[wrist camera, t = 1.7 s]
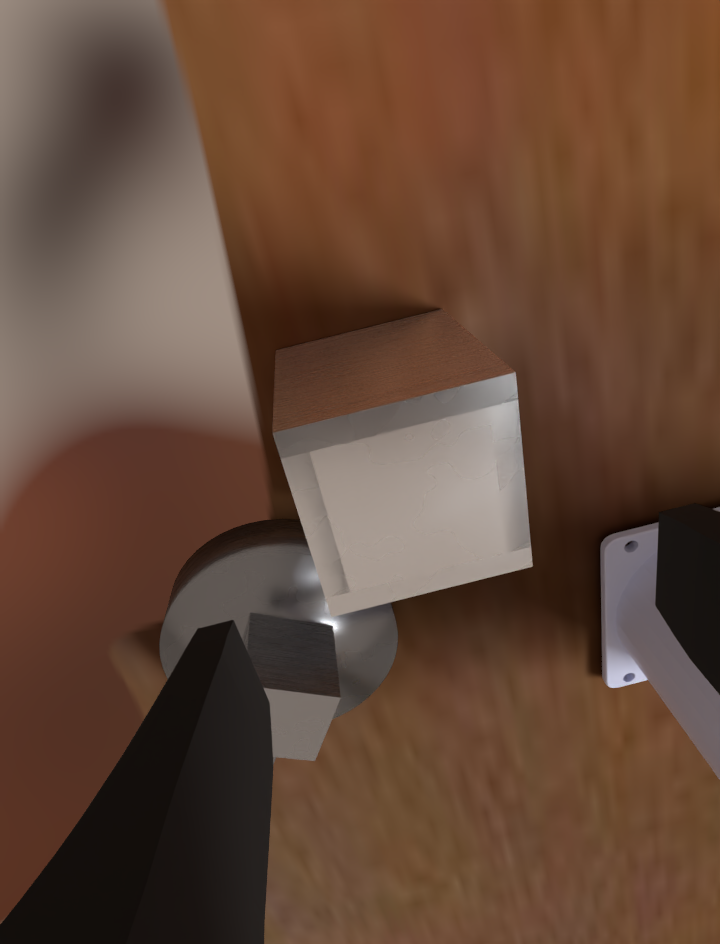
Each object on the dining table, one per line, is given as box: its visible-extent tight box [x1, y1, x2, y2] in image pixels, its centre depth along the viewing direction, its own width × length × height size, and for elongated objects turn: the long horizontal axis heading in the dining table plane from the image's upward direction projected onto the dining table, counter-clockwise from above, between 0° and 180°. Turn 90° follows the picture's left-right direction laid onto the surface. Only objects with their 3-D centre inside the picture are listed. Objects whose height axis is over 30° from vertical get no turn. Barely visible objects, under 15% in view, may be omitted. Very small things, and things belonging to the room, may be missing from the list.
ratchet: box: [159, 519, 398, 764], centre depth 22 cm, size 22×8×5 cm, turn 162°
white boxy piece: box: [272, 309, 533, 617], centre depth 15 cm, size 5×5×6 cm
